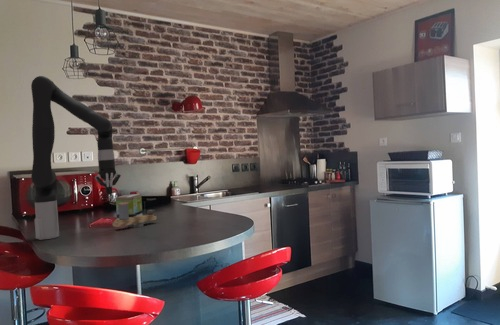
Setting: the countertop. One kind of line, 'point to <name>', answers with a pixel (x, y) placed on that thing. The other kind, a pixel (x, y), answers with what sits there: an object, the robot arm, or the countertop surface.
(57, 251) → the countertop surface
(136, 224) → the bread loaf
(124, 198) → the tea box
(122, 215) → the block
